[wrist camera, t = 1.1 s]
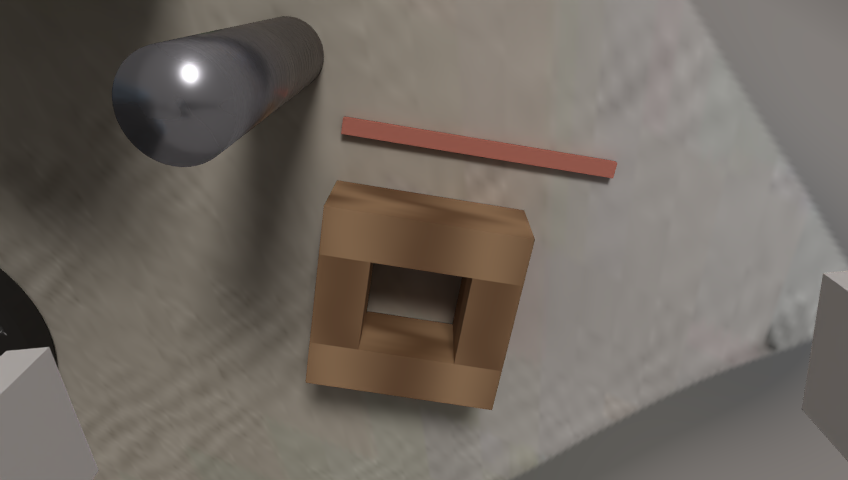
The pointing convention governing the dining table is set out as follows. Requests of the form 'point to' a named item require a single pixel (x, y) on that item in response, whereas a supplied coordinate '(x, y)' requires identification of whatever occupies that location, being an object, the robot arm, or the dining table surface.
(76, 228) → the dining table surface
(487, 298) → the wooden square frame
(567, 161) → the thin red bar
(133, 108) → the steel round rod
